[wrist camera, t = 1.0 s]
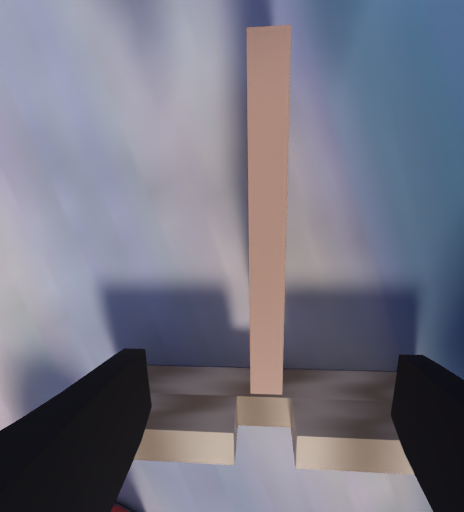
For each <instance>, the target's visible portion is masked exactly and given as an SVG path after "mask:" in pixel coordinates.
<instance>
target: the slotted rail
mask: <svg viewBox="0 0 464 512" xmlns="http://www.w3.org/2000/svg"><path fill="white" fill-rule="evenodd" d="M147 371H148V379H149V387H150V395H151V403H152V407H151V411H150V414H149V418H148V421H147V425H146V428H145V431H144V434H143V438H142V441H141V443H140V446H139V448H138V450H137V453H136V455H135V457H134V460H148V461H167V462H186V463H205V464H224V465H235V452H236V439H237V427H238V425H246V426H270V427H291V433H292V442H293V450H294V459H295V467H296V468H300V469H319V470H338V471H357V472H376V473H395V474H413V475H415V474H414V472H413V470H412V468H411V466H410V464H409V462H408V460H407V458H406V456H405V453H404V451H403V448H402V446H401V443H400V440H399V438H398V435H397V432H396V429H395V426H394V423H393V421H392V418H391V408H392V401H393V394H394V388H395V381H396V374H397V372H373V371H337V370H301V369H283V386H282V395H275V394H251V393H250V368H228V367H192V366H155V365H147Z"/></svg>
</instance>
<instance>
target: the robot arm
mask: <svg viewBox="0 0 464 512" xmlns="http://www.w3.org/2000/svg"><path fill="white" fill-rule="evenodd" d="M151 407H152V403H151V395H150V387H149V379H148V371H147V363H146V355H145V349H123V350H122V351H120V352H118V353H117V354H115V355H114V356H112V357H111V358H110V359H108V360H107V361H105V362H104V363H102V364H101V365H100V366H98V367H97V368H95V369H94V370H93V371H91V372H90V373H88V374H87V375H85V376H84V377H83V378H81V379H80V380H78V381H77V382H75V383H74V384H73V385H71V386H70V387H68V388H67V389H65V390H64V391H63V392H61V393H59V394H58V395H56V396H55V397H53V398H52V399H50V400H49V401H47V402H46V403H44V404H43V405H41V406H39V407H38V408H36V409H35V410H33V411H32V412H30V413H29V414H27V415H26V416H24V417H22V418H21V419H19V420H17V421H16V422H14V423H12V424H11V425H9V426H7V427H6V428H4V429H2V430H1V431H0V512H111V510H112V508H113V506H114V503H115V501H116V499H117V496H118V494H119V492H120V490H121V487H122V485H123V483H124V480H125V478H126V476H127V474H128V471H129V469H130V467H131V464H132V462H133V460H134V457H135V455H136V453H137V450H138V448H139V446H140V443H141V441H142V438H143V434H144V431H145V428H146V425H147V421H148V418H149V414H150V411H151ZM391 418H392V421H393V423H394V426H395V429H396V432H397V435H398V438H399V440H400V443H401V446H402V448H403V451H404V453H405V456H406V458H407V460H408V462H409V464H410V466H411V468H412V470H413V472H414V474H415V476H416V478H417V480H418V482H419V484H420V486H421V488H422V490H423V492H424V494H425V496H426V498H427V500H428V502H429V504H430V506H431V508H432V510H433V512H464V380H463V379H461V378H460V377H458V376H456V375H455V374H453V373H452V372H450V371H449V370H447V369H445V368H444V367H442V366H441V365H439V364H437V363H436V362H434V361H432V360H431V359H429V358H427V357H425V356H423V355H400V354H399V360H398V367H397V374H396V381H395V388H394V394H393V401H392V408H391Z"/></svg>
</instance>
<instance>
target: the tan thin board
mask: <svg viewBox="0 0 464 512" xmlns="http://www.w3.org/2000/svg"><path fill="white" fill-rule="evenodd" d="M246 31H247V121H248V212H249V302H250V393H251V394H275V395H282V386H283V344H284V302H285V260H286V219H287V177H288V135H289V93H290V51H291V25H279V26H263V27H246Z"/></svg>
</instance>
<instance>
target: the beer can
mask: <svg viewBox="0 0 464 512" xmlns="http://www.w3.org/2000/svg"><path fill="white" fill-rule="evenodd" d="M111 512H131V511H130V510H128V509H126V508H125V507H123V506H121V505H119V504H116V503H114V506H113V508H112V510H111Z"/></svg>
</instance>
